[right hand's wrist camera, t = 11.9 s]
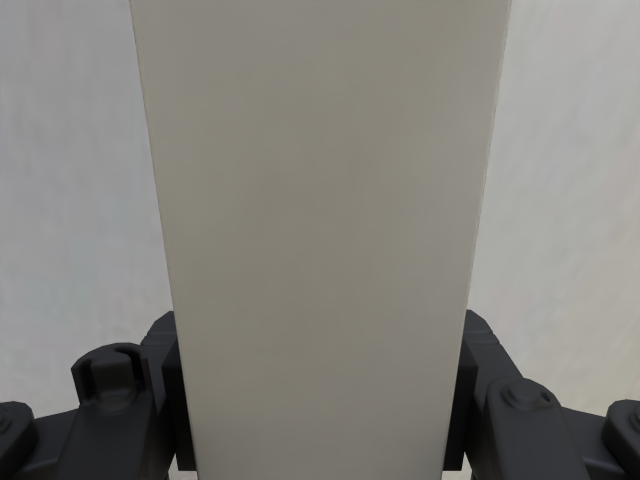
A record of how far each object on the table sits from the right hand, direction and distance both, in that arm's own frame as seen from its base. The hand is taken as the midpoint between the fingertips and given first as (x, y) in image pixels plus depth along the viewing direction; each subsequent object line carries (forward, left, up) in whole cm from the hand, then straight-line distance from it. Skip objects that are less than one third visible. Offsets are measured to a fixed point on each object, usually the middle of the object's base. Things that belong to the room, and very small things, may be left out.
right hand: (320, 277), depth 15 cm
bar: (+6, +4, -1) cm, 7 cm away
